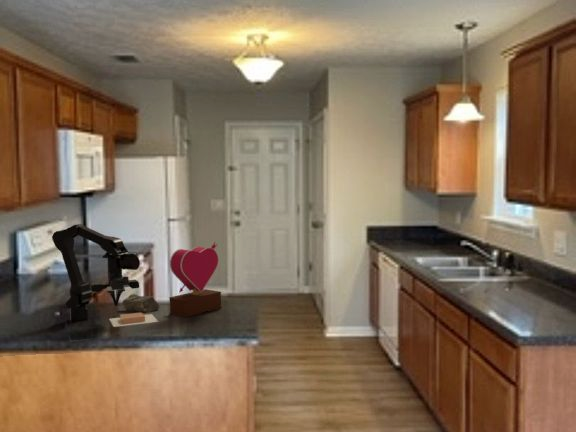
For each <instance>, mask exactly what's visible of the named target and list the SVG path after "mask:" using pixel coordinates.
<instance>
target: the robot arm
mask: <svg viewBox="0 0 576 432" xmlns="http://www.w3.org/2000/svg"><path fill="white" fill-rule="evenodd" d="M78 236H79V237H82V238H83V239H85V240H88V241H91V242H92V243H94V244H97V245H98V246H100V248H101V249H102V250H103V251H105V254H104V255H102V258H103V259H106V260H107V264H106V265H107V283H102V282H92V283H91V285H90V283H86V282H85V281H84V279H83V277H82V273H81V270H80V267H79V263H78V260H77V258H76V254H75V252H74V246H75V238H77V237H78ZM51 240H52V242H53V244H54V246H55V247H56V249H57V250H58V251H59V252H60V253H61V256H62V260H63V263H64V265H65V266H64V267H65V270H66V272H67V276H68V279H69V282H70V288H69V294H70V295H69V296H70V298H69V299H68V300H67V301H66V302H65V307H66V308H67V309H69V316H70V318H69V320H70V323H74V322H75V323H77V322H84V321H88V319H89V315H88V311H89V310H88V308H87V305H89V303H90V300H91V299H92V298H93V297H92V296H93V294H92V293H97V292H102V290H105V292H106V293H108V294H109V295H110V298H111V300H112V303H113V304H114V307H118V305H119V301H120V298H121V296H122V293H123V292H125V291H126V289H125V288H127V287H130V289H131V290H133V289H139V288H140V282H139V281H138V280H137V279H129V276H123V270H125V271H126V270H130V271H137V270H138V269H139V268H140V264H141V261H140V258H139V257H138V254H137V253H136V252H133V253H130V251H129V250H128V248H127V247H126V246H125V244H124V241H123V239H121V238H119V237H115V236H109V235H105V234H102V233H100V232H98V231H96V230H94V229H92V228H90V227H87V226H86V225H84V224H81V223H78V224H73V225H71V226H70V227H68V228H65V229H62V230H56V231H54V232H53V234H52V235H51Z"/></svg>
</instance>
